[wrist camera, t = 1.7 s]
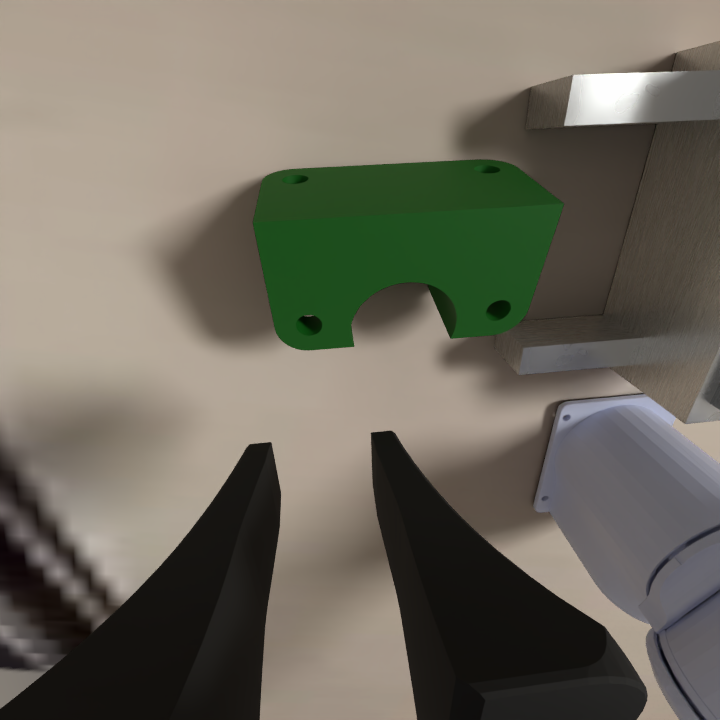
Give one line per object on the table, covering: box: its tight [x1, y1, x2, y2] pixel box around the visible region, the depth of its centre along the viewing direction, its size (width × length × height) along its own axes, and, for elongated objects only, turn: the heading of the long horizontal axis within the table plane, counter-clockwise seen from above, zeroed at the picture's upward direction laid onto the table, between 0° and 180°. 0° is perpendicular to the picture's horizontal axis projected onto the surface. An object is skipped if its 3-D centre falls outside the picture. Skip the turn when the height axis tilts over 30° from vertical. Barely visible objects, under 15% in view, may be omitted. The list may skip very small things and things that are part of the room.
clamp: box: [253, 160, 564, 350], centre depth 16 cm, size 11×6×8 cm, turn 86°
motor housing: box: [494, 41, 720, 424], centre depth 16 cm, size 14×12×7 cm
